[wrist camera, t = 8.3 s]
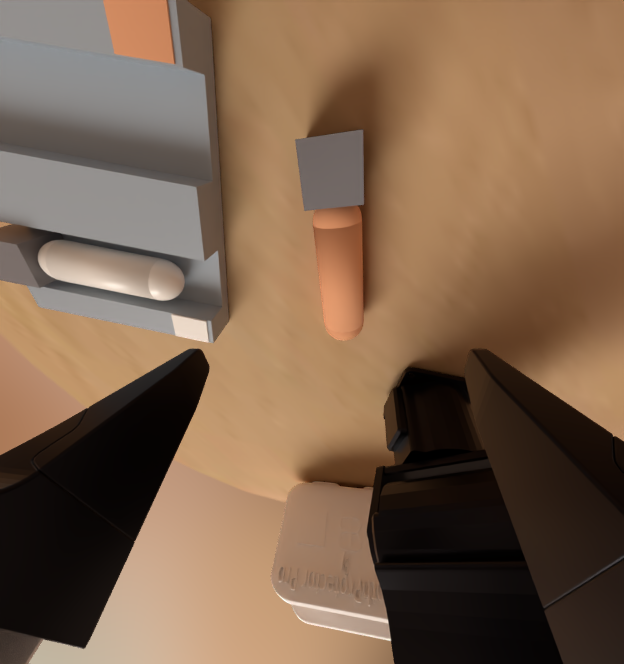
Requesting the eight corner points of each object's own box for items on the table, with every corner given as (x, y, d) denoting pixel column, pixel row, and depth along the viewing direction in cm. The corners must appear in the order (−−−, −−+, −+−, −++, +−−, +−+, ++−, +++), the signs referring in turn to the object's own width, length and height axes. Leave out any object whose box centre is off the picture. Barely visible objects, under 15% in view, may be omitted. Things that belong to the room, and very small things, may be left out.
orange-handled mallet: (365, 325, 20) (365, 350, 18) (326, 326, 20) (322, 350, 18) (362, 129, 13) (363, 129, 11) (306, 138, 14) (295, 139, 11)
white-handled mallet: (189, 255, 17) (163, 273, 15) (194, 293, 19) (172, 315, 17) (19, 222, 18) (-30, 235, 16) (39, 262, 19) (-2, 279, 17)
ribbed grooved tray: (210, 18, 12) (173, -10, 9) (229, 320, 21) (212, 344, 19) (-72, -28, 12) (-174, -65, 10) (71, 289, 22) (37, 307, 20)
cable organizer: (300, 509, 41) (282, 619, 32) (290, 473, 35) (264, 597, 26) (404, 522, 38) (417, 647, 29) (413, 486, 32) (433, 629, 23)
